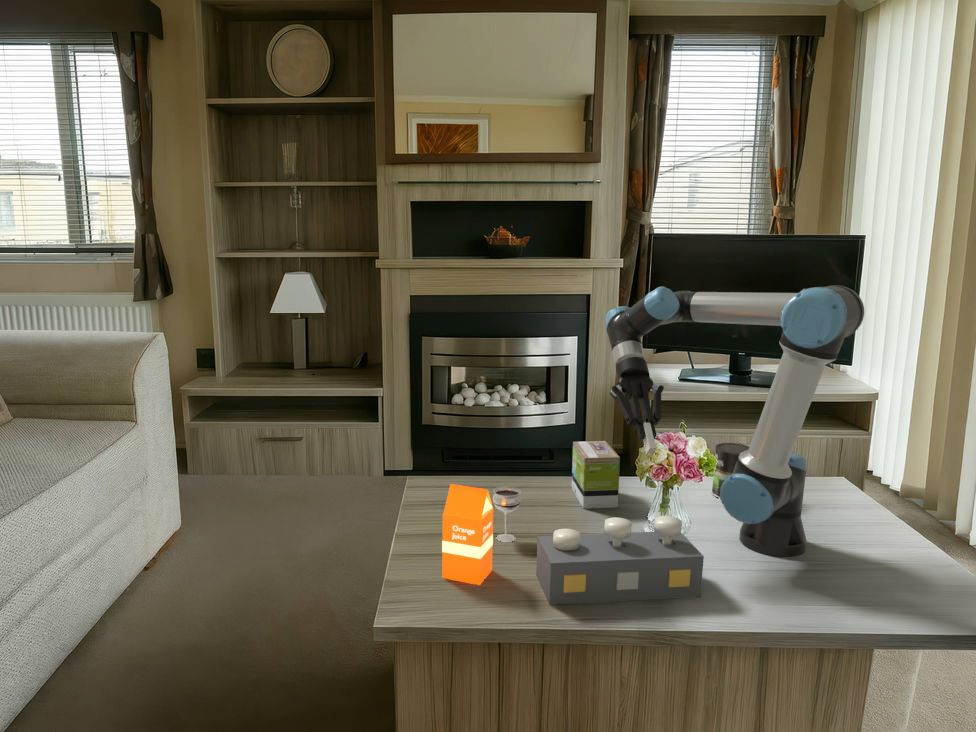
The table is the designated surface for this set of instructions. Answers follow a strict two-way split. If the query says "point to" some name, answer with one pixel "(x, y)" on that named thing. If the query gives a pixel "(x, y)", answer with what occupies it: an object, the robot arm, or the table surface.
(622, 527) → the middle button
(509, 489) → the wineglass
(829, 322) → the robot arm
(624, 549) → the button console
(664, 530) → the button
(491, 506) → the orange juice
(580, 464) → the tea box
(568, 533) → the button
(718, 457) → the coffee can
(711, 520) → the table surface
